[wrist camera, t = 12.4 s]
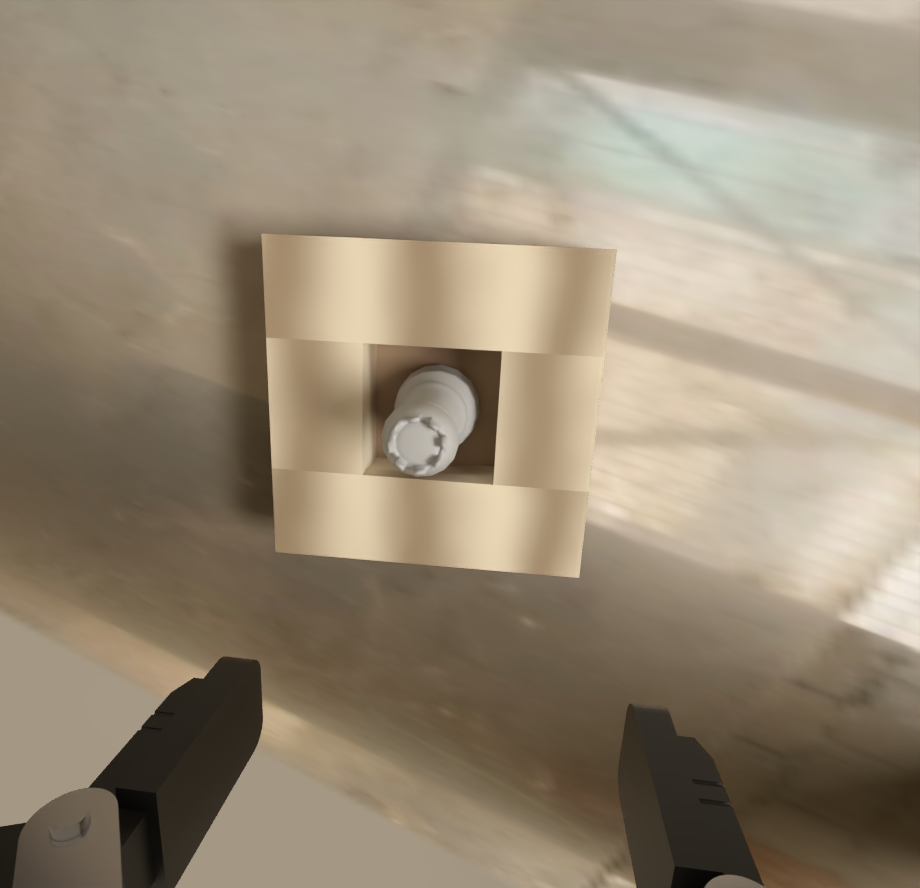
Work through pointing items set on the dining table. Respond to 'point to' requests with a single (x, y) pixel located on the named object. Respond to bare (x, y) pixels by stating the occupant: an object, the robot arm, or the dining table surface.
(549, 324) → the socket block
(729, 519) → the dining table surface
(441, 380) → the rook chess piece
